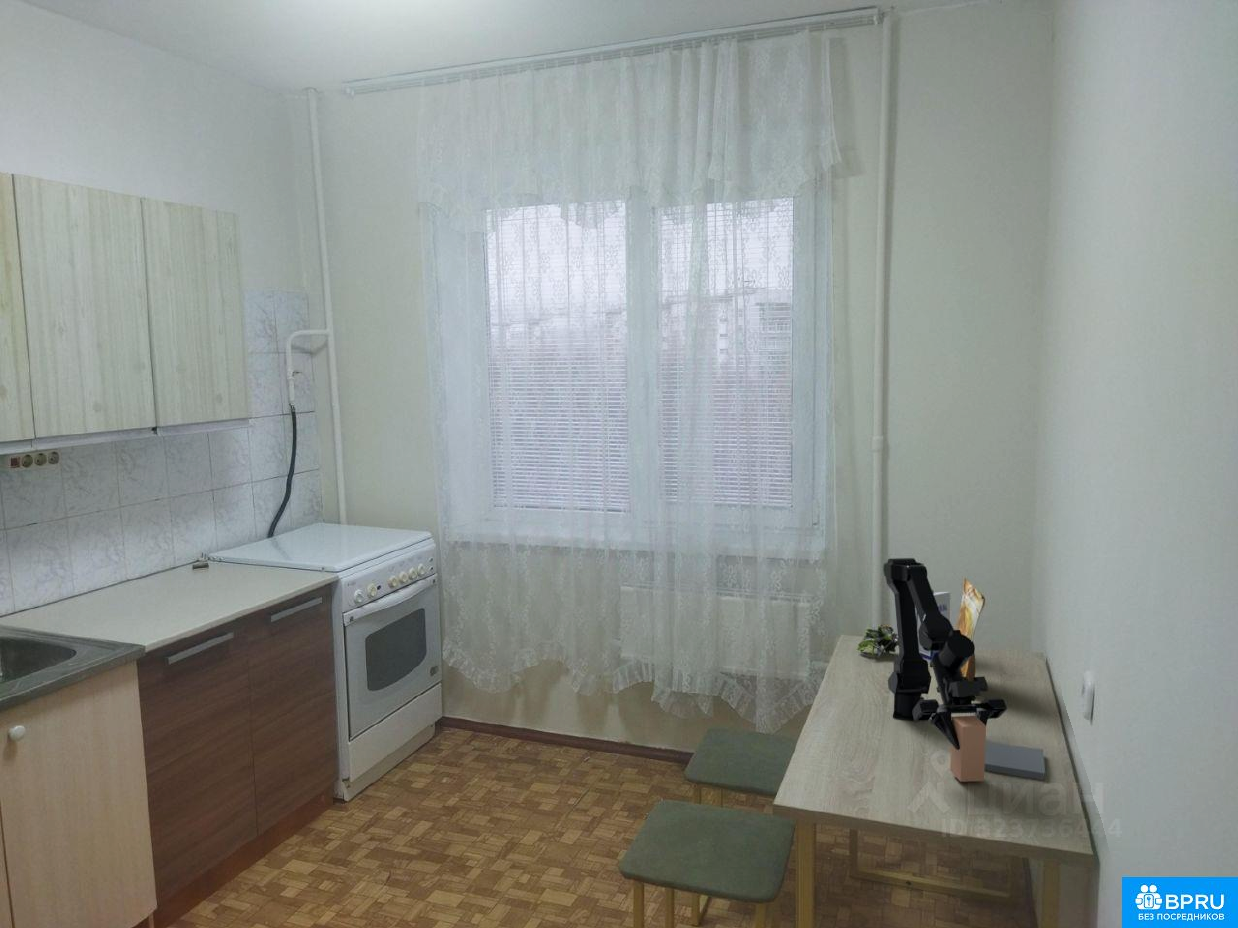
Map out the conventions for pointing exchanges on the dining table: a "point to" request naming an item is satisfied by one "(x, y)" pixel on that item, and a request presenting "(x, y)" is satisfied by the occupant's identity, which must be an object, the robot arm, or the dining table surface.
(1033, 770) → the slate board
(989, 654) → the dining table surface
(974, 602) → the pancake mix bag
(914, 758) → the dining table surface
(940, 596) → the milk carton
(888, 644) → the green leafy clump
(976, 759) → the terracotta block
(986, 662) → the dining table surface
